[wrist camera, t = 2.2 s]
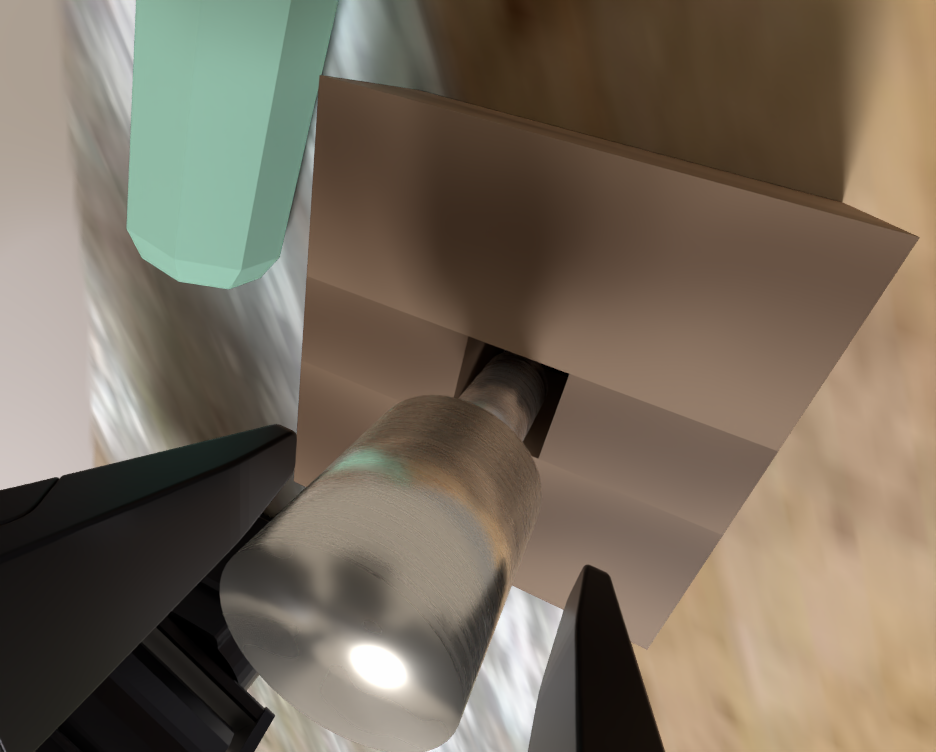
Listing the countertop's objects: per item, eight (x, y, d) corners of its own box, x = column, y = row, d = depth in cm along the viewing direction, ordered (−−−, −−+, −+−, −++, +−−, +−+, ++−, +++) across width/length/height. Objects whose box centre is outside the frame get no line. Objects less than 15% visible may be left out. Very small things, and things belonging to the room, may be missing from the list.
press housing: (655, 533, 19) (647, 649, 15) (370, 412, 21) (293, 481, 17) (843, 202, 13) (919, 237, 9) (418, 90, 16) (319, 74, 11)
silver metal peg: (558, 460, 14) (431, 791, 7) (442, 412, 15) (222, 667, 8) (603, 347, 13) (493, 637, 5) (468, 299, 13) (216, 496, 6)
